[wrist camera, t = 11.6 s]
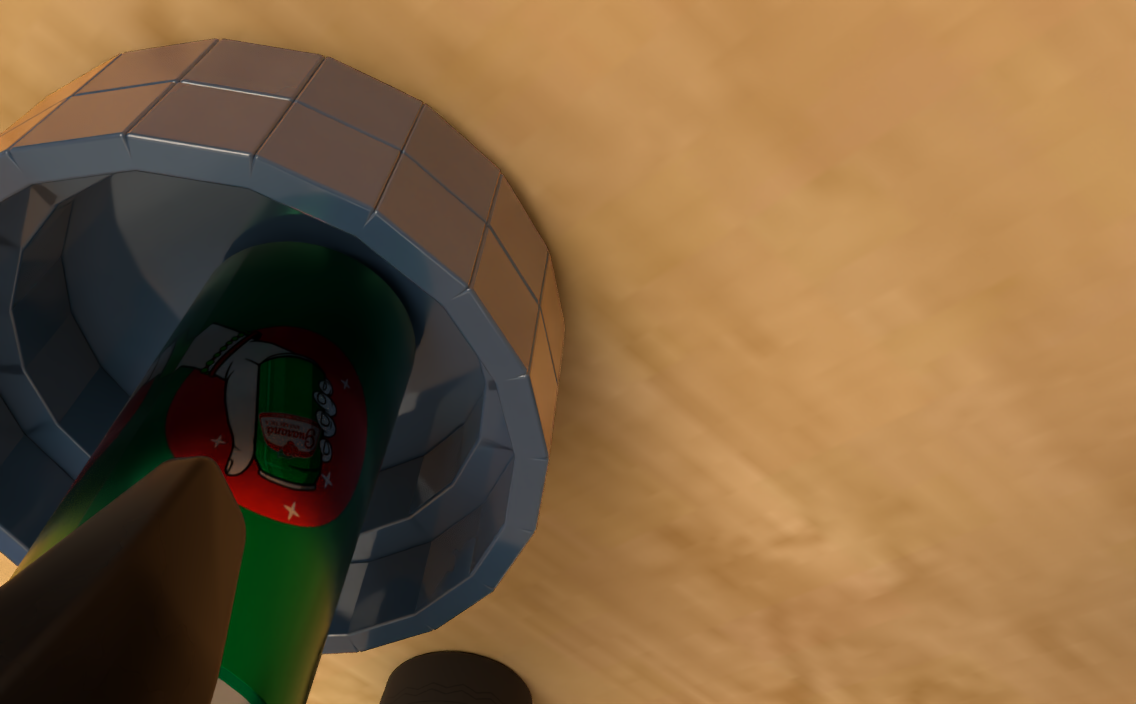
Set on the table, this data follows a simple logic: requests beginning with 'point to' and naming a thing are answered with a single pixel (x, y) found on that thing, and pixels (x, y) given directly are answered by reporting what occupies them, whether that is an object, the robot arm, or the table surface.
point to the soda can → (269, 442)
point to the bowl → (274, 214)
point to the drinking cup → (454, 681)
